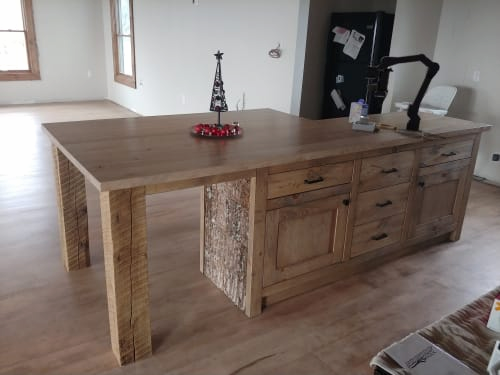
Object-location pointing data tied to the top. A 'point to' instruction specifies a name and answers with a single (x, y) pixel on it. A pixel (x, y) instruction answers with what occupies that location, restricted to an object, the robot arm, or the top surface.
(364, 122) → the plug
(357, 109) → the ink cartridge box
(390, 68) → the robot arm
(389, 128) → the socket block
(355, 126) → the bin
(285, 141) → the top surface
